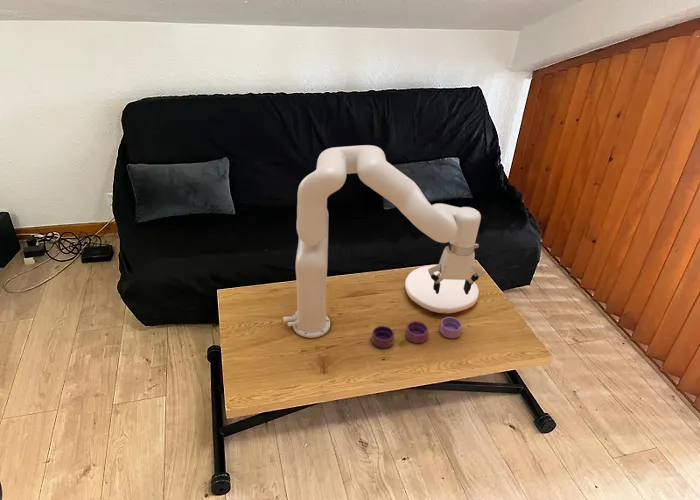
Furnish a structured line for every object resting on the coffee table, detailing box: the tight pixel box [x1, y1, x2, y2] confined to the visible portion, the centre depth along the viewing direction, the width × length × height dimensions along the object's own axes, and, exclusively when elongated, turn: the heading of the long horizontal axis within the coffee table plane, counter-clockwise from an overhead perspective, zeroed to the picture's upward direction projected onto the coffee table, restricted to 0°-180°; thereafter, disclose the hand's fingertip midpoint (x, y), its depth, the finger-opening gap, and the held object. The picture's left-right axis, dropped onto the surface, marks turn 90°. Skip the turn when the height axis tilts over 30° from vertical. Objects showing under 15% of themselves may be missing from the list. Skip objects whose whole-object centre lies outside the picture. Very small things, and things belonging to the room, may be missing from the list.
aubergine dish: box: [371, 325, 395, 349], centre depth 160 cm, size 7×7×4 cm
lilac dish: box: [439, 316, 463, 339], centre depth 165 cm, size 7×7×4 cm
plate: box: [404, 264, 480, 315], centre depth 182 cm, size 28×6×27 cm
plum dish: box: [405, 320, 429, 344], centre depth 162 cm, size 7×7×4 cm
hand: (451, 291), depth 159 cm, fingers open, 9 cm apart
